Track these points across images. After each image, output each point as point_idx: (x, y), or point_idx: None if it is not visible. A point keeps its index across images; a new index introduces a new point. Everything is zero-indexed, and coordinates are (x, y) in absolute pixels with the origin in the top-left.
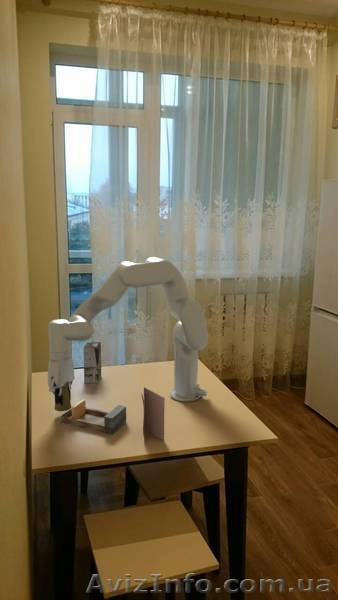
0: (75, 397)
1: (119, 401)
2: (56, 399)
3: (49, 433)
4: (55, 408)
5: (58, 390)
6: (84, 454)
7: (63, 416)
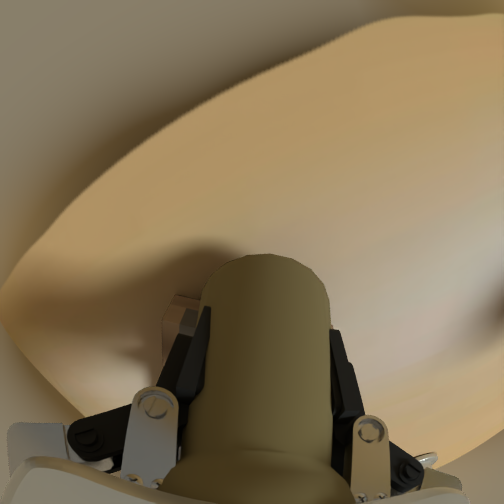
0: (489, 251)
1: (412, 410)
2: (167, 366)
3: (79, 280)
4: (207, 285)
5: (181, 455)
6: (69, 390)
7: (170, 336)
